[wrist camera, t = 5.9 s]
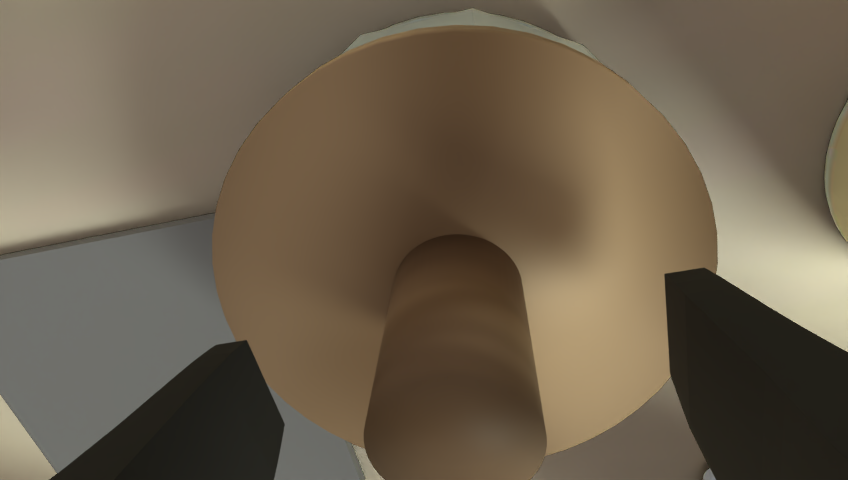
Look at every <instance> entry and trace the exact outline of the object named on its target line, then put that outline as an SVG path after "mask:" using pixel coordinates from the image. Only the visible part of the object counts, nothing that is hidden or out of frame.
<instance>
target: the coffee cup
mask: <svg viewBox="0 0 848 480" xmlns="http://www.w3.org/2000/svg"><path fill="white" fill-rule="evenodd" d="M824 179H825V194H826V198H827V201H828V205H829V208H830V212H831V215H832V218H833V220H834V222H835V224H836V226H837V228H838V229H839V231H840V233H841V234H842V236H843V237H844V238H845V240H846V241H847V242H848V101H847V103H846V105H845V106H844V108H843V110H842V112H841V114H840V116H839V118H838V119H837V122H836V125H835V128H834V130H833V133H832V136H831V139H830V143H829V147H828V151H827V154H826V164H825V175H824Z"/></svg>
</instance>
